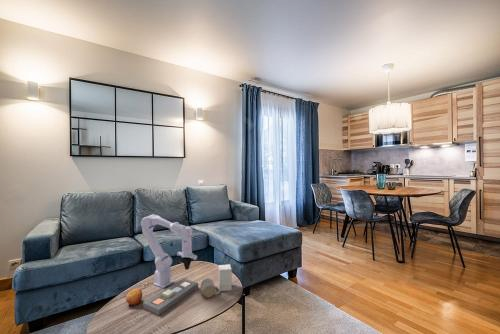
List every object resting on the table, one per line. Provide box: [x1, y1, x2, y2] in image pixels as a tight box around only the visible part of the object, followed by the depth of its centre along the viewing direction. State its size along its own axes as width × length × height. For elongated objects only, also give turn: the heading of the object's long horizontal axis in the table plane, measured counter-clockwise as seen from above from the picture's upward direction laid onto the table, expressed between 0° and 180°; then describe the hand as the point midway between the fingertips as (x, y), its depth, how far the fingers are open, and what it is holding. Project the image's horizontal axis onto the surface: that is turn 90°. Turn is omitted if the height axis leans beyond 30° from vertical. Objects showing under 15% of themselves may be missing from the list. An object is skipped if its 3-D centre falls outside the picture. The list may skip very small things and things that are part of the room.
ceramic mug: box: [200, 277, 221, 298], centre depth 133 cm, size 11×8×8 cm
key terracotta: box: [152, 298, 165, 306], centre depth 121 cm, size 4×4×2 cm
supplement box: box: [218, 263, 233, 292], centre depth 140 cm, size 7×7×13 cm
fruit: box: [125, 287, 143, 306], centre depth 125 cm, size 8×8×8 cm
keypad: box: [142, 277, 199, 316], centre depth 130 cm, size 12×29×3 cm, turn 152°
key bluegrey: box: [172, 287, 183, 293], centre depth 132 cm, size 4×4×2 cm
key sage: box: [162, 289, 174, 299], centre depth 127 cm, size 4×4×2 cm
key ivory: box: [180, 282, 191, 287], centre depth 138 cm, size 4×4×2 cm
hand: (187, 268), depth 142 cm, fingers closed
